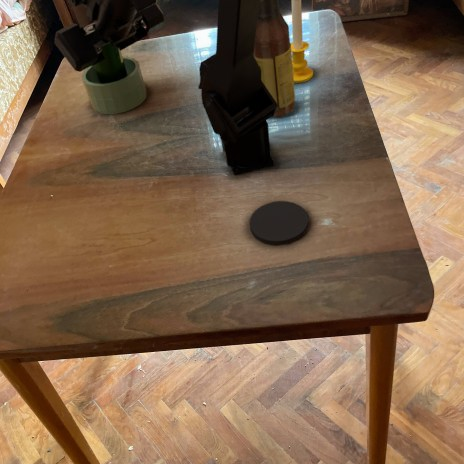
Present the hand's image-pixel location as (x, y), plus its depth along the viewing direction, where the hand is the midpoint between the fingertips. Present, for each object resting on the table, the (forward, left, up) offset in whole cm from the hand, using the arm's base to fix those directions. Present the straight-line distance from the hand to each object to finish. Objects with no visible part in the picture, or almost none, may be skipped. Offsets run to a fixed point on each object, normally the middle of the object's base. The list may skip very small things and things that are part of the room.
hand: (102, 57), depth 93 cm
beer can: (-1, +1, -7) cm, 7 cm away
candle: (-34, +9, -8) cm, 36 cm away
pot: (-1, +1, -8) cm, 8 cm away
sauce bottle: (-27, +18, -8) cm, 33 cm away
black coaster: (-19, +46, -8) cm, 50 cm away
